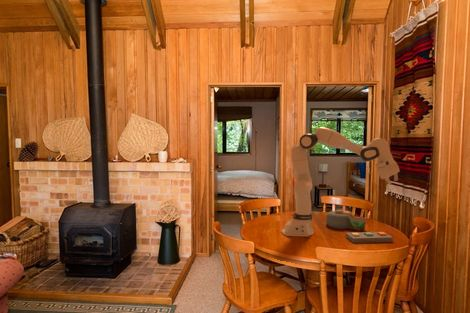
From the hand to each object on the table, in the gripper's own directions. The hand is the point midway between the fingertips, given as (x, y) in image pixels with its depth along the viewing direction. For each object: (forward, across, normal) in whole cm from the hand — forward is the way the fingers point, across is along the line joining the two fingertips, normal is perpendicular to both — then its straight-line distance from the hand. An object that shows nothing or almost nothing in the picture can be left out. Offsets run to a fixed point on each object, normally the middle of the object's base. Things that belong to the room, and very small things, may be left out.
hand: (393, 182), depth 189 cm
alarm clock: (+27, -3, -53) cm, 59 cm away
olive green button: (+31, +12, -22) cm, 39 cm away
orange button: (+33, +4, -17) cm, 37 cm away
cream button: (+28, +19, -26) cm, 43 cm away
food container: (+31, -1, -37) cm, 49 cm away
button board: (+33, +12, -22) cm, 41 cm away
